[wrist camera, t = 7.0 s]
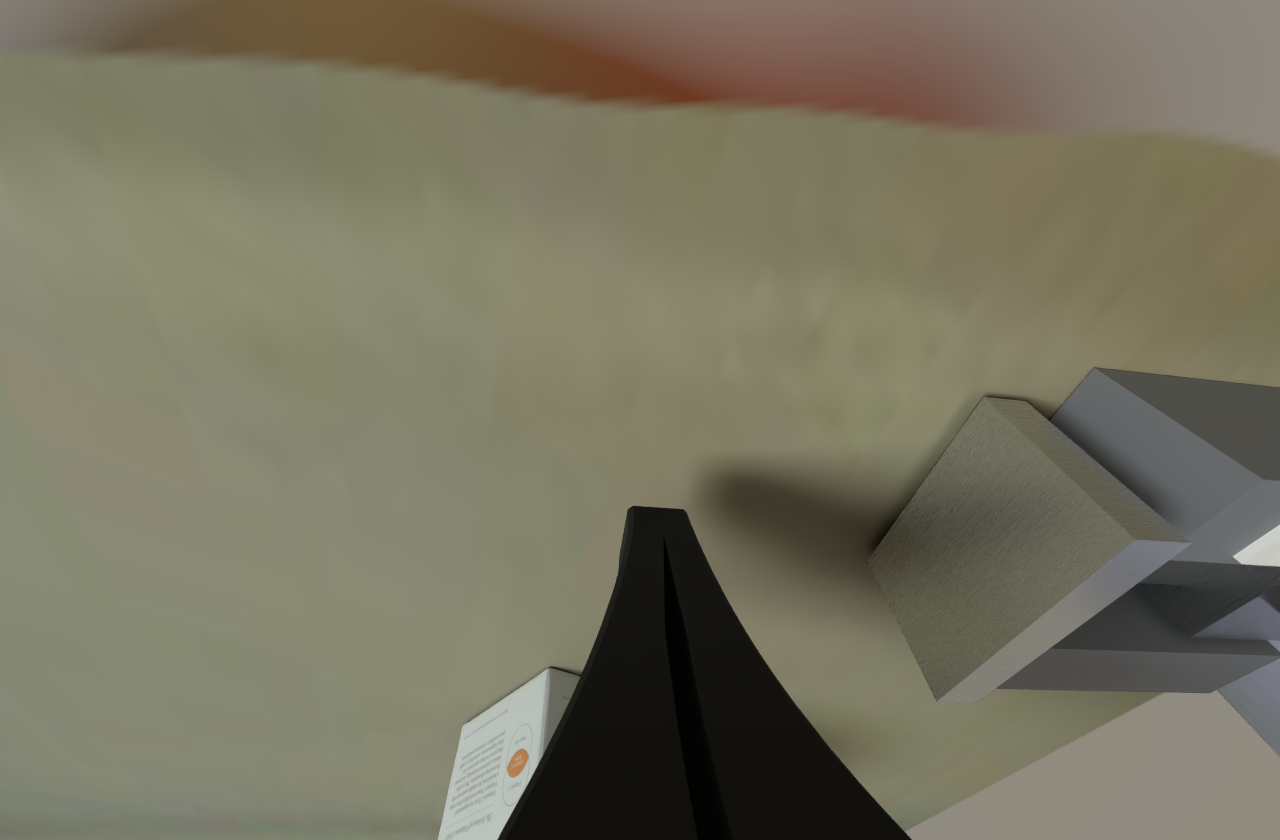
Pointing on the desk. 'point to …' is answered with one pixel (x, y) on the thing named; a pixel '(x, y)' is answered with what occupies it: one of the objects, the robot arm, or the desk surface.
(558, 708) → the small box
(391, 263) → the desk surface
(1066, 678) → the gauge housing
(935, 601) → the plunger
